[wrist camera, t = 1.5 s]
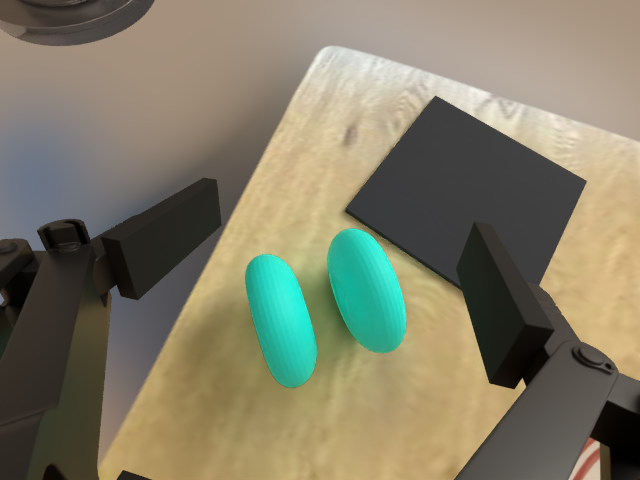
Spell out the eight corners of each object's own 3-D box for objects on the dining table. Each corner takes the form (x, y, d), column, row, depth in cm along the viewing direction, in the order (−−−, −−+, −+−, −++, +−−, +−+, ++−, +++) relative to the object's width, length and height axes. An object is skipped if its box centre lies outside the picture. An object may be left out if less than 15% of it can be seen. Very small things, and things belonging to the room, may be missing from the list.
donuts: (388, 346, 27) (433, 343, 18) (283, 385, 26) (271, 406, 16) (349, 247, 30) (371, 201, 21) (253, 277, 29) (230, 242, 19)
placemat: (433, 98, 38) (435, 95, 37) (582, 183, 35) (587, 181, 34) (344, 211, 32) (345, 208, 31) (515, 327, 28) (520, 326, 28)
